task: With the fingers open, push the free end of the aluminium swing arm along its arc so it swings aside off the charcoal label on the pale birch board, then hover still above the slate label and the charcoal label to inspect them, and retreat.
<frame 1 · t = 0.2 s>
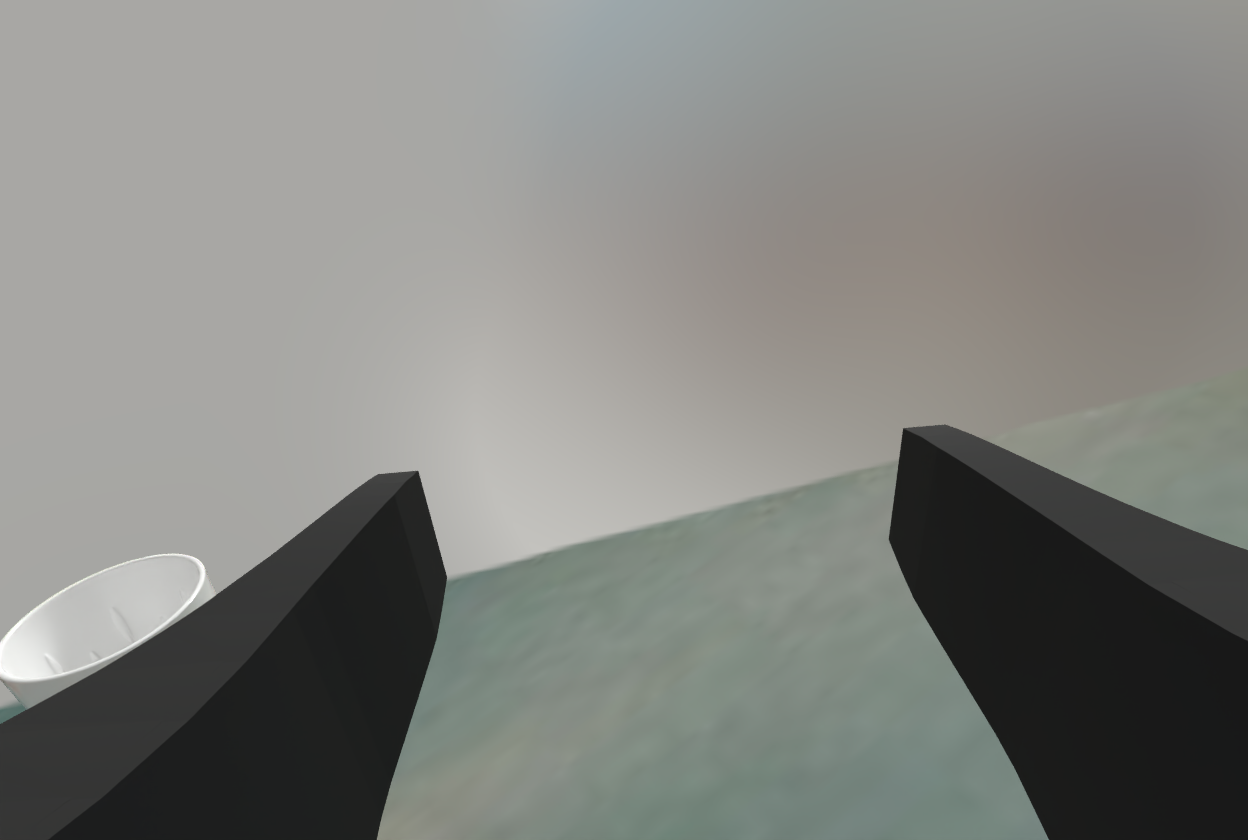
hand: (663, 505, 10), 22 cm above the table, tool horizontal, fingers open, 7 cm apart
white cup: (200, 762, 34), on the table
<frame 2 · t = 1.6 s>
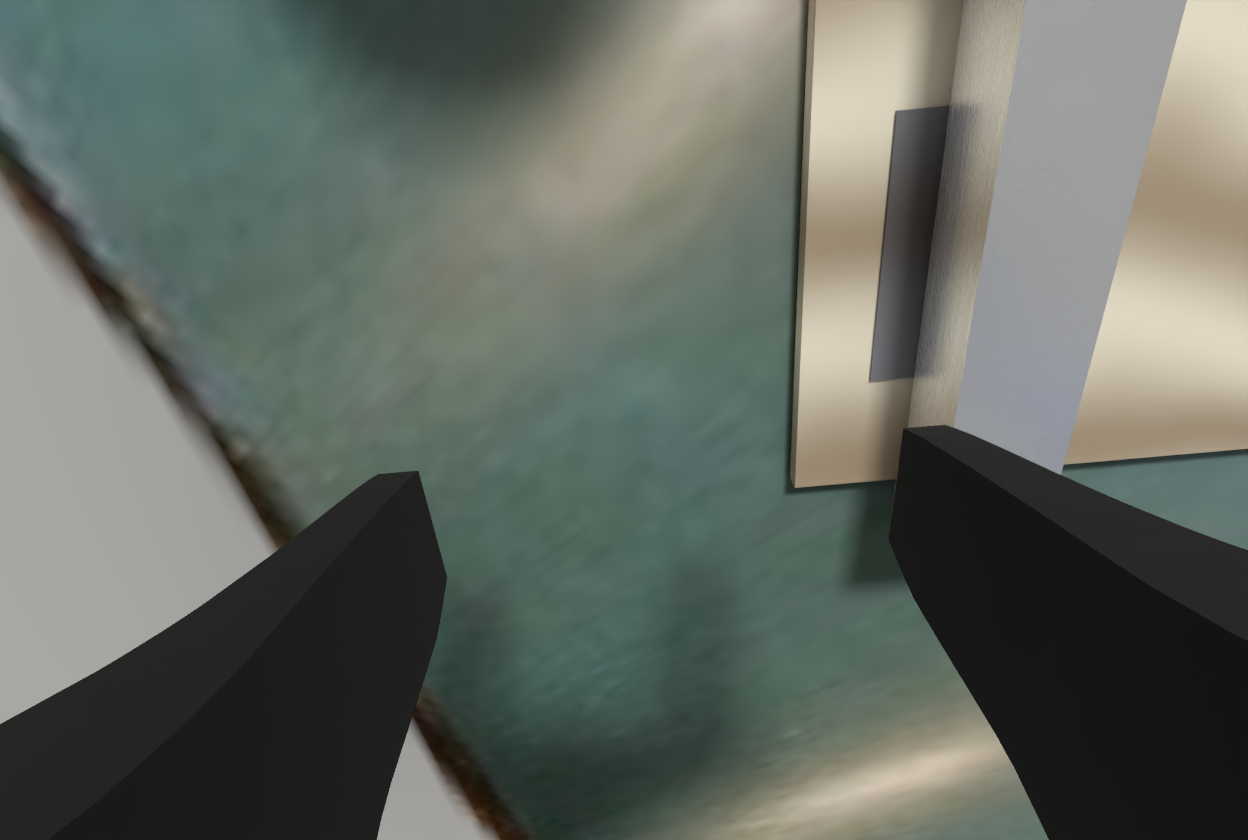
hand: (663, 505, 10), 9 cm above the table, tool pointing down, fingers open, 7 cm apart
cable arm: (1039, 167, 14), point 3 cm above the table, hinge at 0.0°
label board: (1172, 225, 18), on the table
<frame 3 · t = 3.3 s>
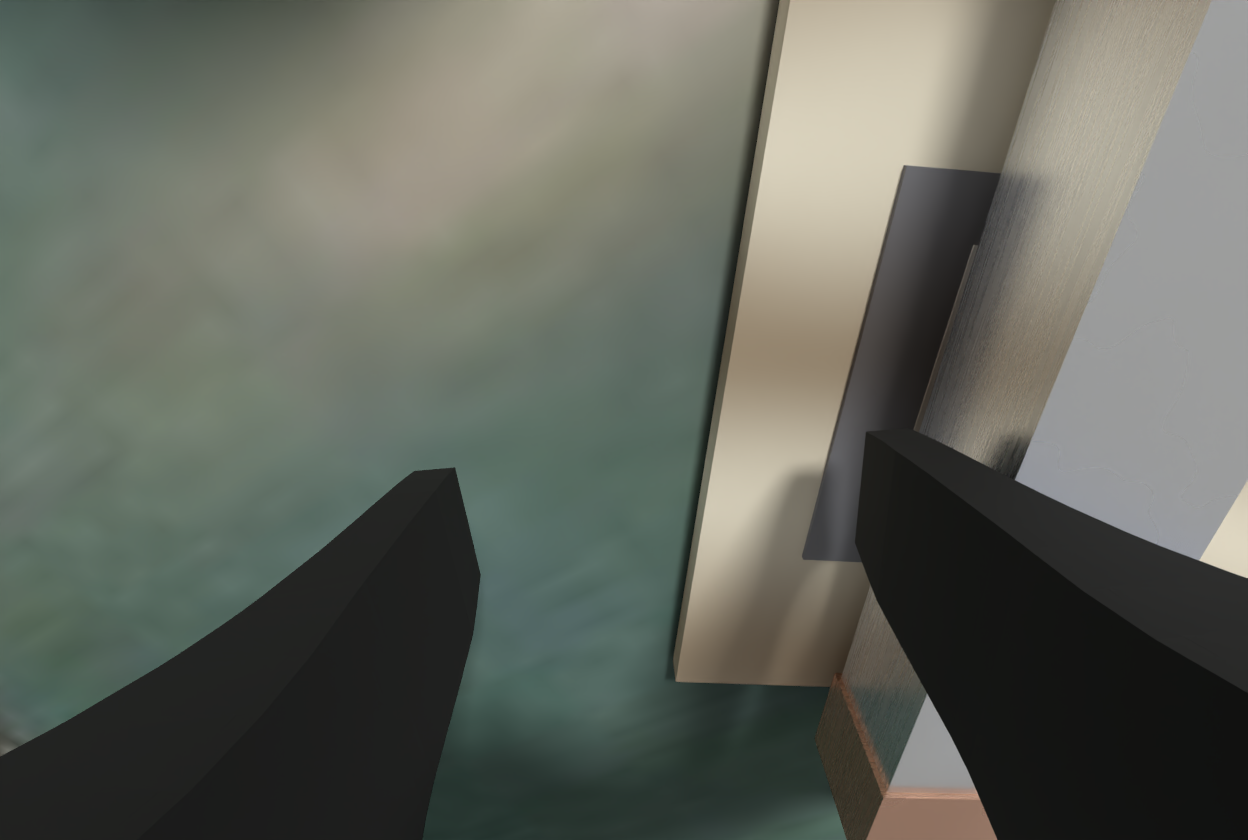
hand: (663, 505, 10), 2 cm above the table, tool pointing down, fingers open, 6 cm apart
cable arm: (1138, 306, 8), point 3 cm above the table, hinge at 0.6°, touching gripper
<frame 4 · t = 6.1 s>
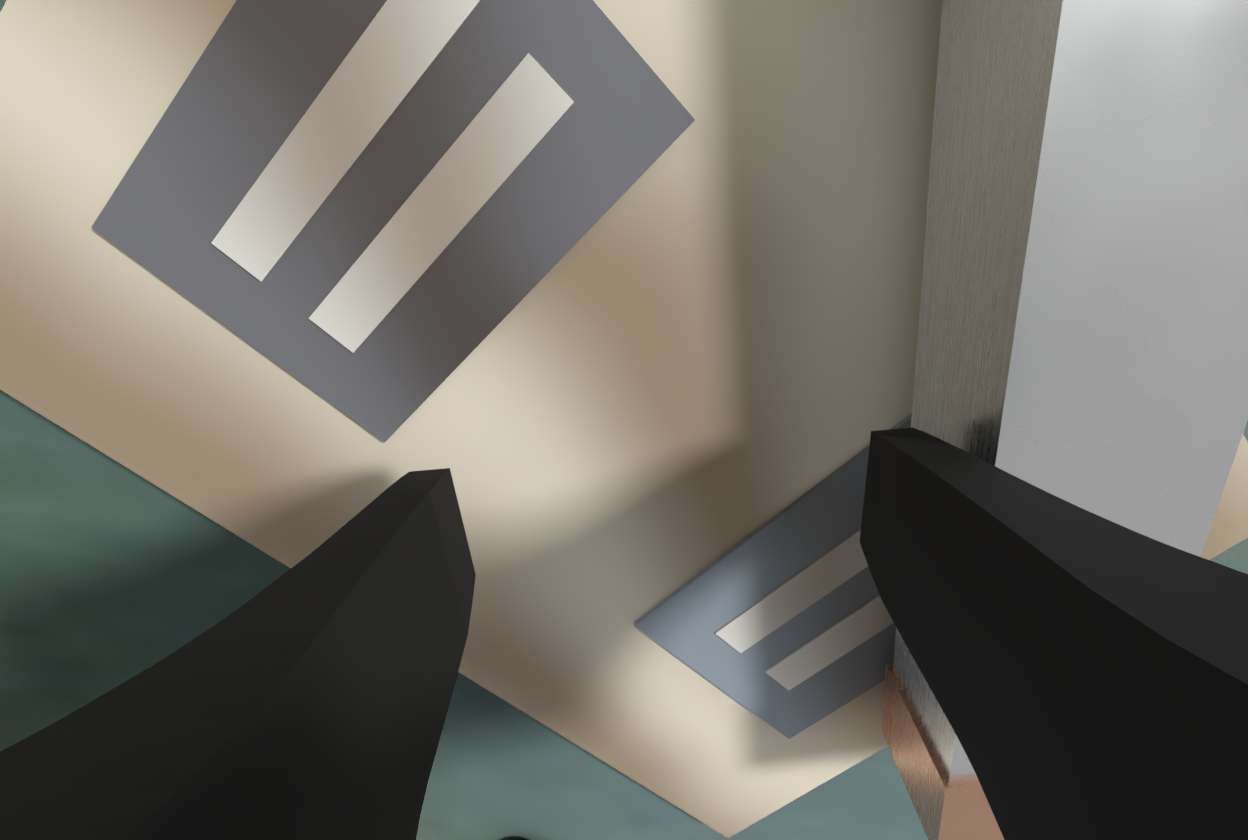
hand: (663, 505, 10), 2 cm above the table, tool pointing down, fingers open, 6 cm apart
cable arm: (1092, 271, 8), point 3 cm above the table, hinge at 53.2°, touching gripper
label board: (655, 402, 12), on the table
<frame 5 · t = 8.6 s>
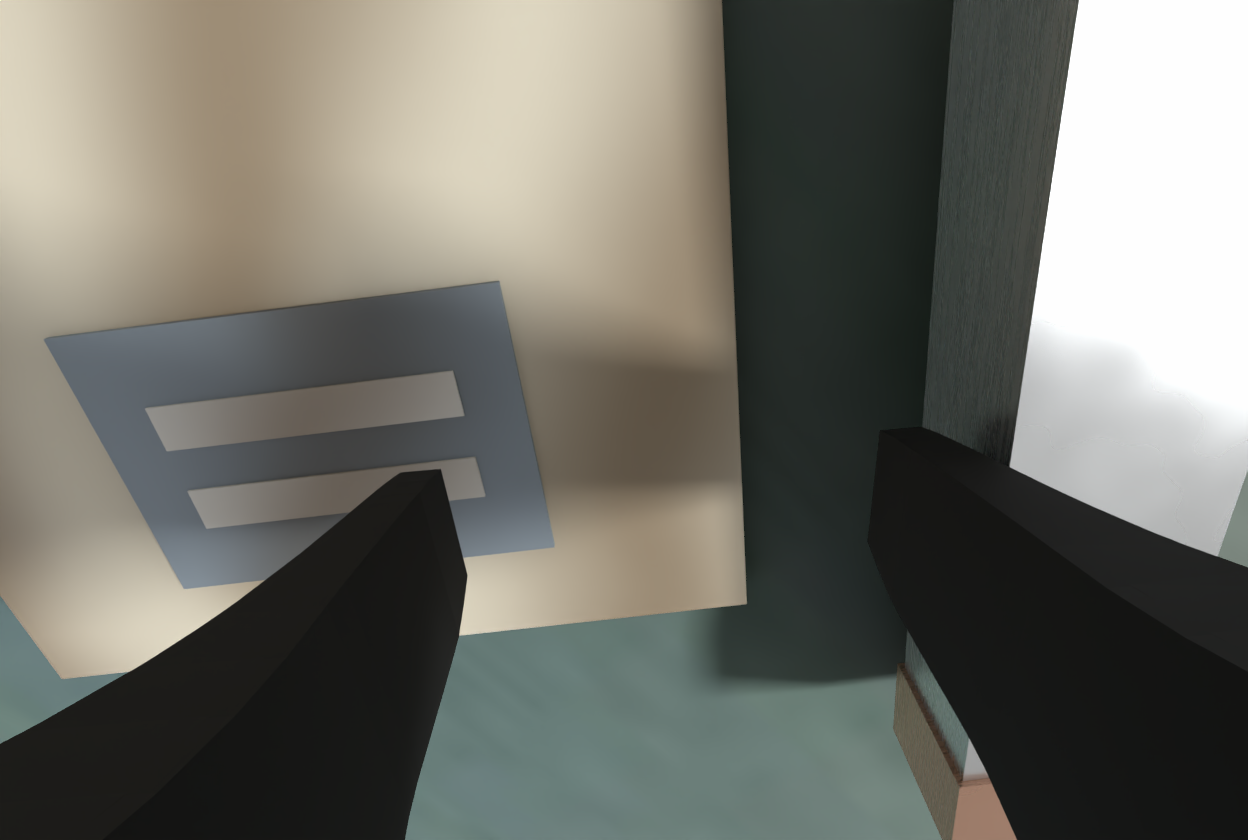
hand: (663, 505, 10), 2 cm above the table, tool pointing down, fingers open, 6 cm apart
cable arm: (1107, 266, 8), point 3 cm above the table, hinge at 91.6°, touching gripper
label board: (211, 88, 9), on the table
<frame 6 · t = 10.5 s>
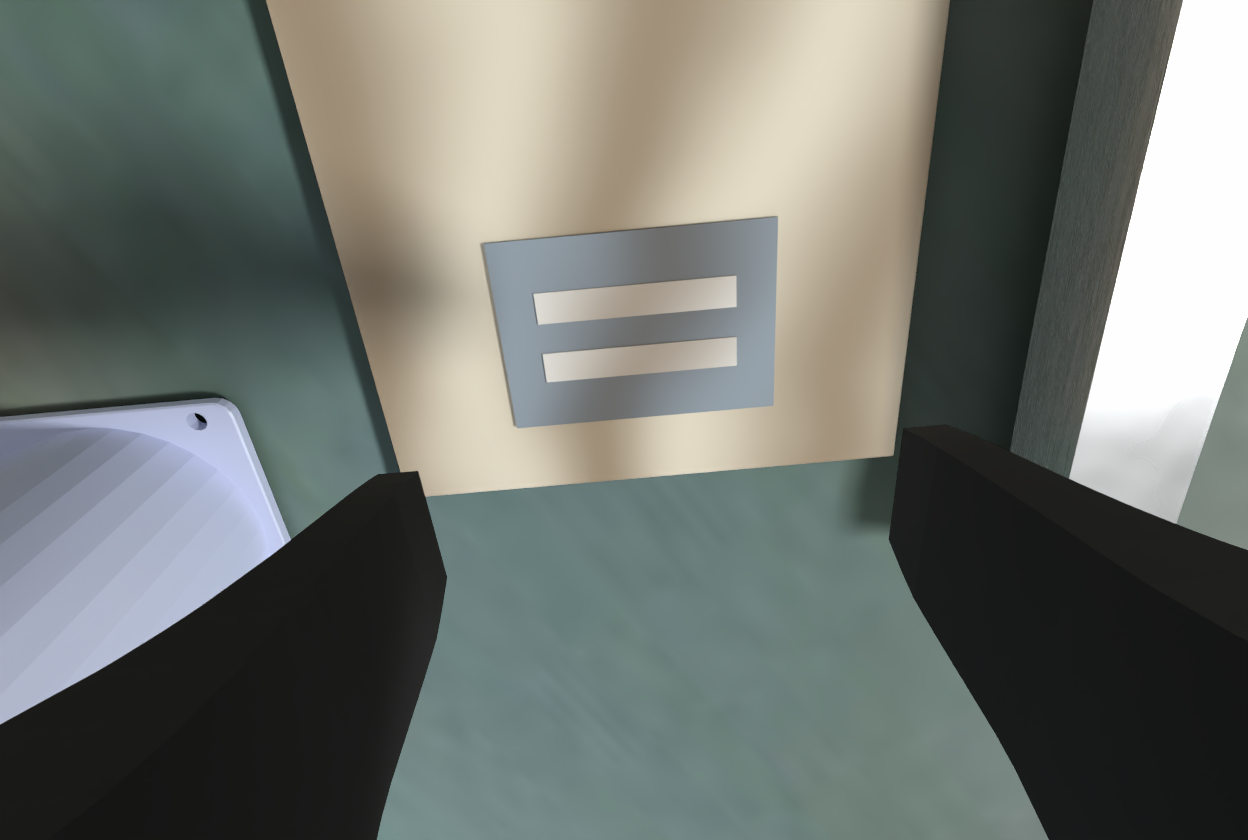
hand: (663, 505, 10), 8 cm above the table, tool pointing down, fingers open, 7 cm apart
cable arm: (1164, 212, 14), point 3 cm above the table, hinge at 91.7°
label board: (618, 88, 15), on the table
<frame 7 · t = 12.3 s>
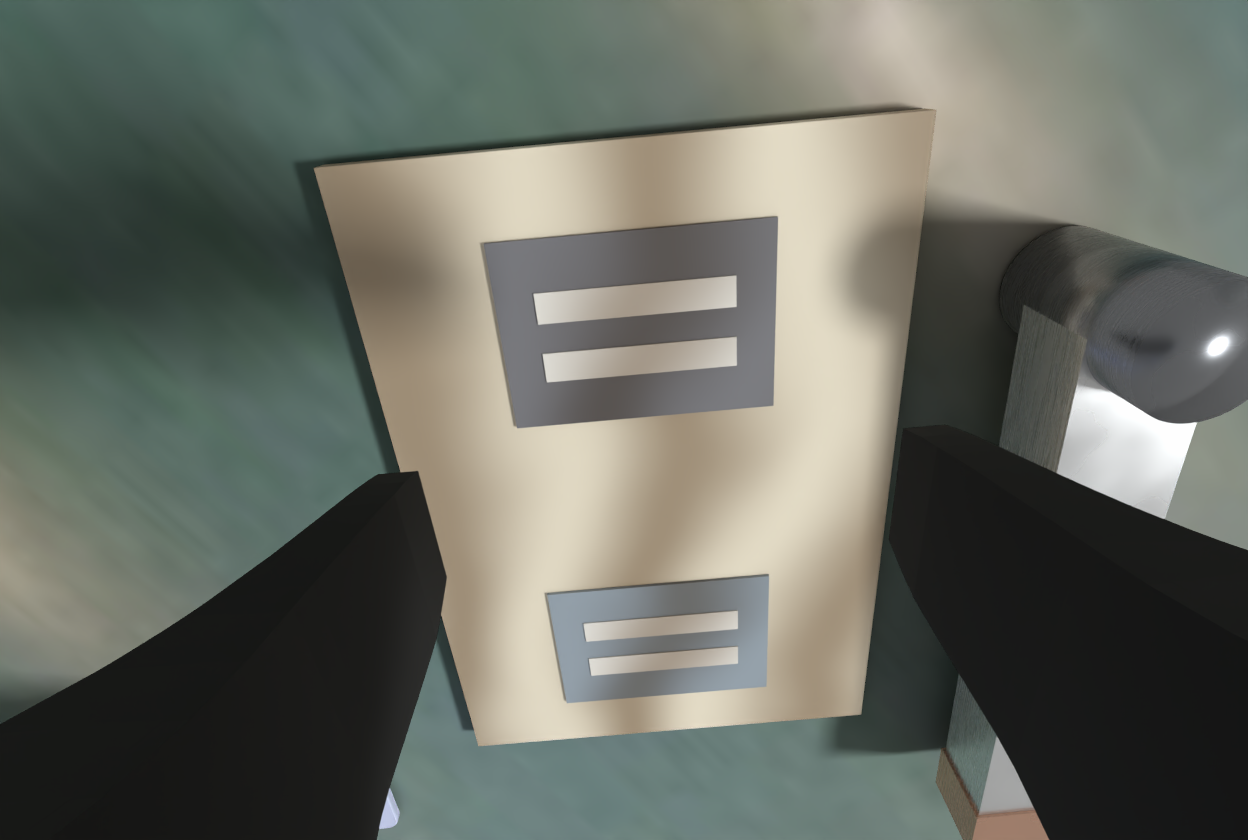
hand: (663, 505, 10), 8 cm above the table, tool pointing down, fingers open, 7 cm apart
cable arm: (1051, 603, 19), point 3 cm above the table, hinge at 91.7°
label board: (650, 494, 20), on the table
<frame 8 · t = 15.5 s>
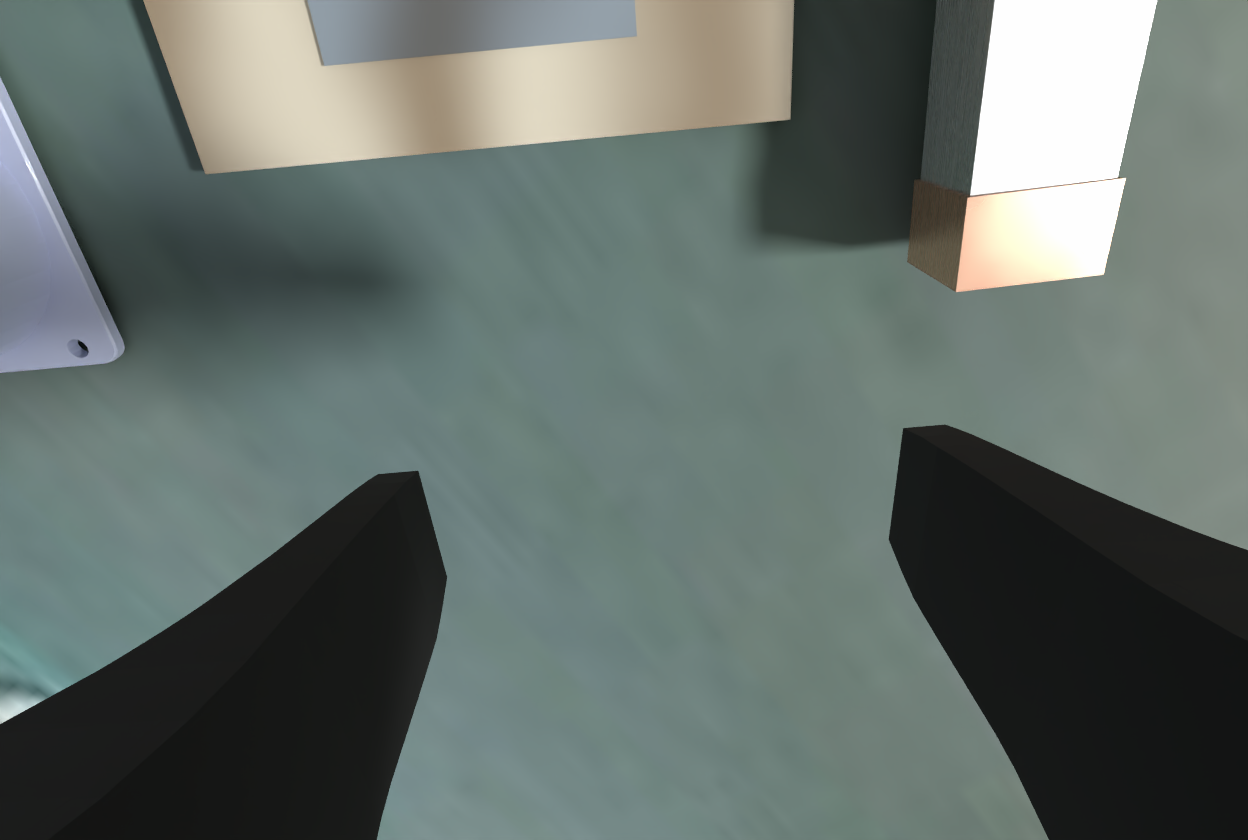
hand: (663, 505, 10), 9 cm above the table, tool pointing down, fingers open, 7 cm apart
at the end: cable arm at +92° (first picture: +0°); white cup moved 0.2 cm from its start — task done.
